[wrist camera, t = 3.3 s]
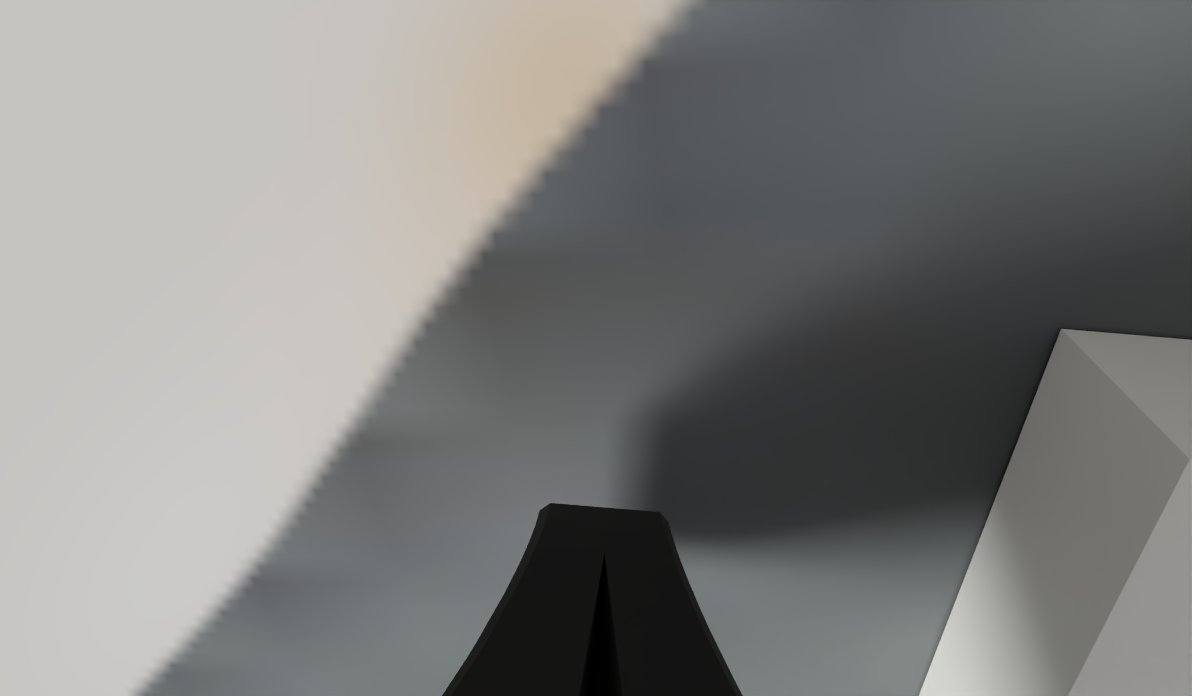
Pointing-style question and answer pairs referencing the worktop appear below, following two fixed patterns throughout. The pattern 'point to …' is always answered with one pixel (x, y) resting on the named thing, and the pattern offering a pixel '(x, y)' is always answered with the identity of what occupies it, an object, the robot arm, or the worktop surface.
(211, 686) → the worktop surface
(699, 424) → the worktop surface
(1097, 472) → the cover
